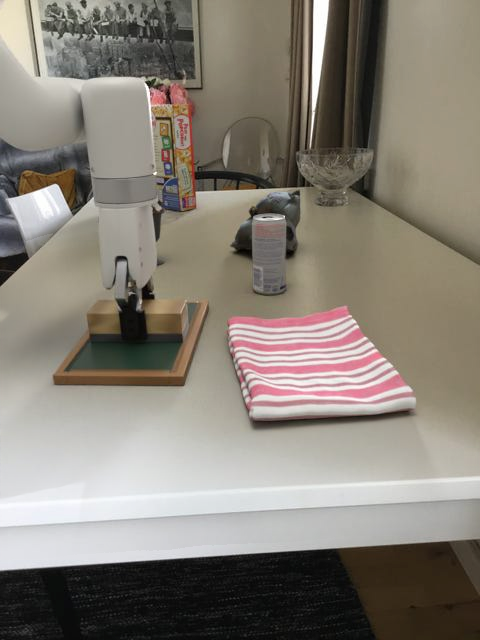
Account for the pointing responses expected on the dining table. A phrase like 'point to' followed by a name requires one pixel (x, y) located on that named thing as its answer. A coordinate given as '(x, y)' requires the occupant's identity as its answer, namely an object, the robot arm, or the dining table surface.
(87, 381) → the chalkboard
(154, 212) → the sundae
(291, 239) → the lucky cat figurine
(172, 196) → the board game
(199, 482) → the dining table surface
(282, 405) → the dish towel
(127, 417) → the dining table surface
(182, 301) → the eraser
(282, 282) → the energy drink
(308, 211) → the dining table surface
